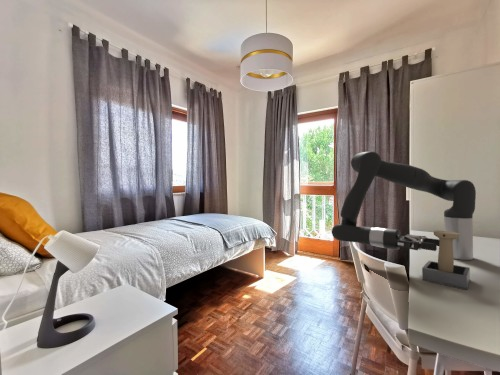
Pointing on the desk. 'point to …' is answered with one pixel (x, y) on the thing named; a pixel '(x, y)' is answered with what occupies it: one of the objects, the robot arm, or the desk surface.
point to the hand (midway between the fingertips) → (438, 245)
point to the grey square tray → (446, 275)
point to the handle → (446, 250)
